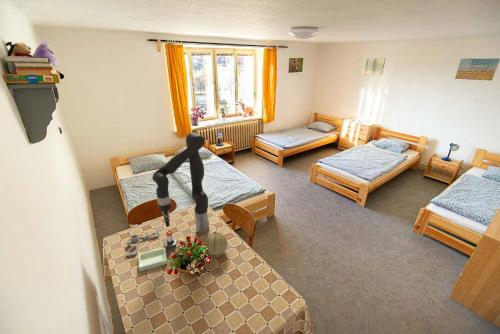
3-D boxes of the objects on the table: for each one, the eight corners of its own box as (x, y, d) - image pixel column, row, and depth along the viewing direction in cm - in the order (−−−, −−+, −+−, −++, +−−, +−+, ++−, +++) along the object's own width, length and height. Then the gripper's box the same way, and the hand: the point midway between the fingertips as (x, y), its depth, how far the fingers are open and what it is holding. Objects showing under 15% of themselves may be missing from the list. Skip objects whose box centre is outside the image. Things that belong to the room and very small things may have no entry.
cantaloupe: (212, 263, 154) (210, 245, 148) (201, 249, 165) (200, 232, 158) (231, 253, 162) (231, 236, 156) (220, 241, 173) (220, 224, 166)
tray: (165, 250, 163) (164, 247, 162) (167, 264, 153) (166, 260, 152) (139, 257, 158) (138, 253, 156) (139, 271, 148) (138, 267, 146)
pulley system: (115, 253, 162) (131, 259, 156) (113, 247, 160) (130, 254, 154) (147, 229, 185) (162, 234, 179) (146, 224, 183) (161, 229, 177)
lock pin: (173, 242, 170) (171, 230, 166) (174, 246, 167) (172, 234, 162) (167, 244, 169) (165, 231, 164) (168, 248, 166) (166, 235, 161)
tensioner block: (175, 240, 172) (175, 237, 171) (176, 247, 166) (176, 244, 165) (165, 243, 170) (164, 240, 168) (166, 250, 164) (165, 246, 163)
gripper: (171, 206, 148) (174, 227, 155) (169, 194, 160) (172, 214, 167) (158, 209, 145) (162, 230, 152) (157, 197, 157) (160, 217, 164)
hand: (167, 222), depth 159 cm, fingers open, 8 cm apart
